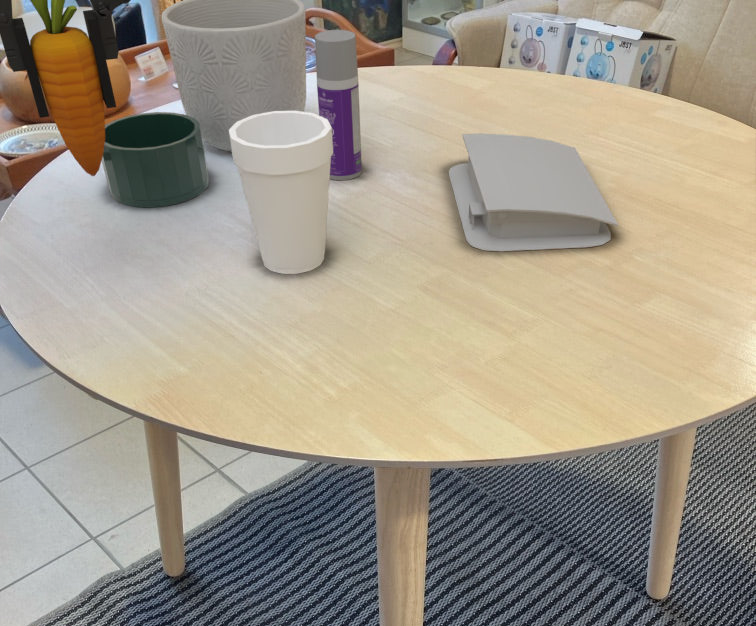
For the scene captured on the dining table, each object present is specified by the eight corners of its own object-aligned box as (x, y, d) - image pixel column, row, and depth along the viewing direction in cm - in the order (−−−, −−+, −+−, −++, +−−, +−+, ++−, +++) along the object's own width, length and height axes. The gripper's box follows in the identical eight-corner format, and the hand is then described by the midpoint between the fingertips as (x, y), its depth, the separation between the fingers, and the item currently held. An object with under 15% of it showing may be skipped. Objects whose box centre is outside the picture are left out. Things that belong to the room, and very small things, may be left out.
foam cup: (241, 282, 84) (221, 149, 75) (252, 239, 91) (235, 112, 82) (337, 280, 84) (329, 146, 75) (341, 237, 91) (333, 109, 82)
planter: (163, 135, 113) (138, 6, 103) (276, 108, 120) (263, -16, 109) (219, 177, 103) (197, 38, 92) (339, 145, 109) (331, 11, 99)
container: (318, 178, 102) (308, 40, 92) (329, 163, 105) (320, 28, 95) (356, 181, 101) (350, 42, 91) (366, 166, 104) (361, 30, 94)
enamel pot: (94, 205, 98) (79, 148, 94) (131, 165, 106) (118, 110, 102) (191, 209, 97) (180, 151, 92) (220, 168, 105) (212, 113, 101)
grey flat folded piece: (469, 252, 88) (471, 216, 85) (446, 163, 104) (447, 131, 102) (618, 245, 88) (625, 209, 85) (571, 158, 105) (575, 125, 102)
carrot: (53, 175, 74) (-3, -24, 64) (103, 159, 76) (57, -35, 66) (83, 192, 71) (29, -13, 61) (133, 174, 74) (90, -25, 64)
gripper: (-178, -273, 49) (-36, 139, 65) (131, -282, 54) (192, 106, 70) (-168, -276, 54) (-39, 107, 70) (113, -284, 59) (174, 78, 75)
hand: (76, 106), depth 70 cm, fingers closed on carrot, 5 cm apart
